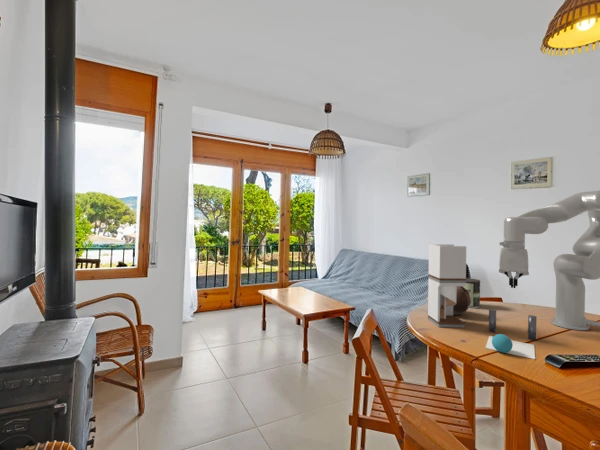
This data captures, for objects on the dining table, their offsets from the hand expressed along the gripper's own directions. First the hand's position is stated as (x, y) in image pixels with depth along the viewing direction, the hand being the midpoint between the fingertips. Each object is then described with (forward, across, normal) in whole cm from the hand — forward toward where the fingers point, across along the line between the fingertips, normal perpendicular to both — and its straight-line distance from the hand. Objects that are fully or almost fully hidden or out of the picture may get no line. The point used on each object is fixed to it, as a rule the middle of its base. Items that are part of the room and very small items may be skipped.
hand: (513, 287), depth 129 cm
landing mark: (+17, 0, -27) cm, 32 cm away
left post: (+17, -6, -13) cm, 22 cm away
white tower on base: (+17, -24, -14) cm, 33 cm away
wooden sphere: (+17, -24, +3) cm, 30 cm away
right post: (+17, +6, -13) cm, 22 cm away
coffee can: (+17, -20, +25) cm, 36 cm away
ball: (+14, -2, -34) cm, 37 cm away
